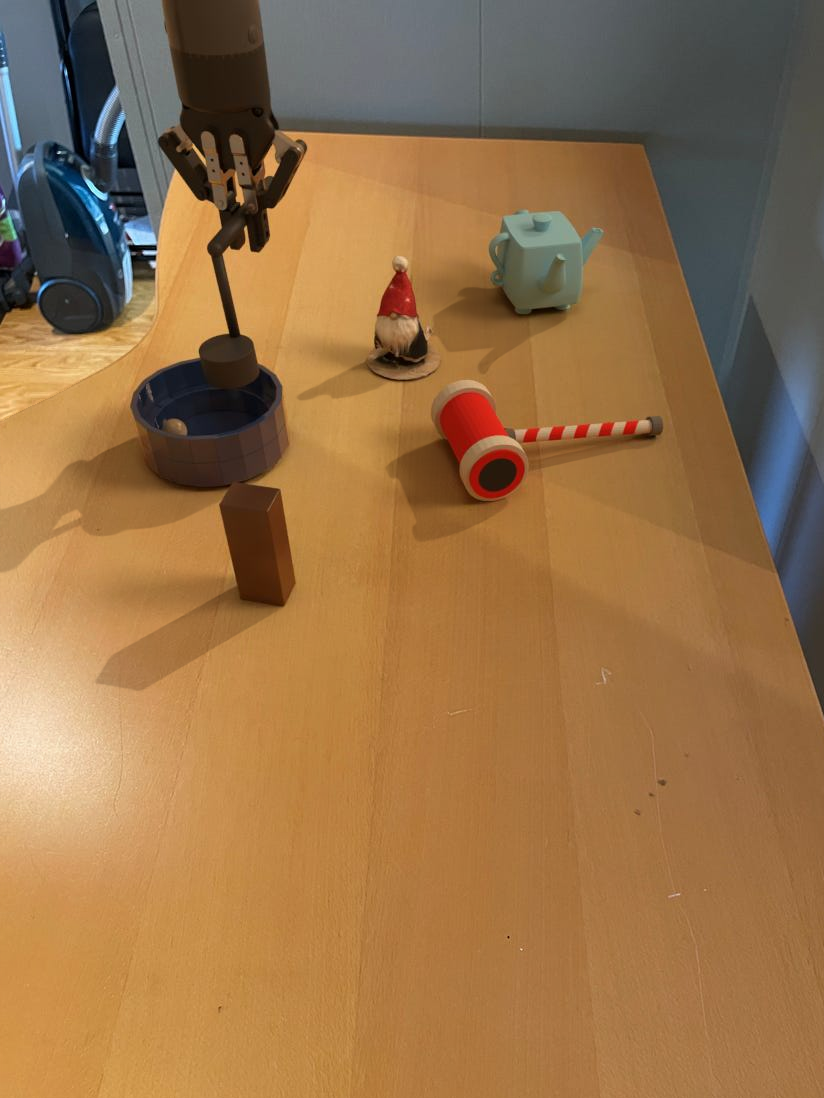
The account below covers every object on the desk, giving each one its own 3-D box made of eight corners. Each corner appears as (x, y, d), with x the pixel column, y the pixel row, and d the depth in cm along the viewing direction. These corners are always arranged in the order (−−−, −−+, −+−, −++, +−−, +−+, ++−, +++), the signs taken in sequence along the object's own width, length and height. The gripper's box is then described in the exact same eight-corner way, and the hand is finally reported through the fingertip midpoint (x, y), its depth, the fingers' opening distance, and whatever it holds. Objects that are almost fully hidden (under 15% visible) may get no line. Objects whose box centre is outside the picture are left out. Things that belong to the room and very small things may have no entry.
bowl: (120, 480, 93) (104, 427, 89) (180, 399, 103) (168, 348, 98) (260, 501, 91) (251, 448, 87) (308, 417, 101) (302, 366, 97)
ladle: (247, 391, 88) (219, 268, 80) (196, 386, 89) (163, 264, 81) (314, 290, 101) (296, 174, 92) (269, 286, 102) (247, 171, 93)
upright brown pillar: (239, 599, 82) (218, 504, 75) (252, 575, 84) (232, 481, 77) (284, 606, 82) (267, 512, 74) (296, 582, 84) (280, 488, 76)
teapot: (470, 270, 124) (471, 189, 117) (574, 259, 126) (581, 180, 119) (507, 341, 112) (511, 257, 105) (621, 328, 115) (633, 245, 107)
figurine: (394, 369, 100) (355, 262, 101) (374, 404, 110) (339, 305, 110) (465, 352, 103) (427, 247, 103) (440, 387, 113) (405, 290, 113)
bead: (168, 449, 97) (152, 431, 95) (180, 431, 98) (164, 414, 96) (184, 447, 95) (168, 430, 94) (196, 430, 96) (180, 412, 95)
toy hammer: (634, 402, 104) (642, 349, 99) (683, 466, 97) (694, 411, 92) (430, 438, 99) (429, 383, 94) (464, 508, 91) (465, 452, 87)
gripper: (312, 30, 79) (330, 238, 92) (156, 16, 81) (195, 222, 94) (281, 58, 74) (305, 274, 87) (115, 42, 76) (162, 257, 89)
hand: (248, 247), depth 90 cm, fingers closed on ladle, 1 cm apart
